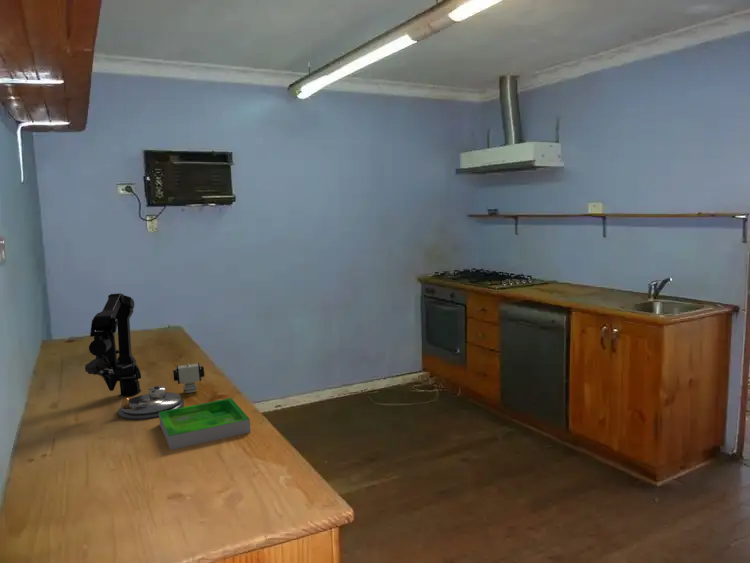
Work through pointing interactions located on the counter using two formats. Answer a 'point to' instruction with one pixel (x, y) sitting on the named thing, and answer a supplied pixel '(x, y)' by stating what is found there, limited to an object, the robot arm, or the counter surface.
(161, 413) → the tray
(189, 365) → the pneumatic valve
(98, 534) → the counter surface
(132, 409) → the turntable
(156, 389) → the cover
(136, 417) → the turntable base
